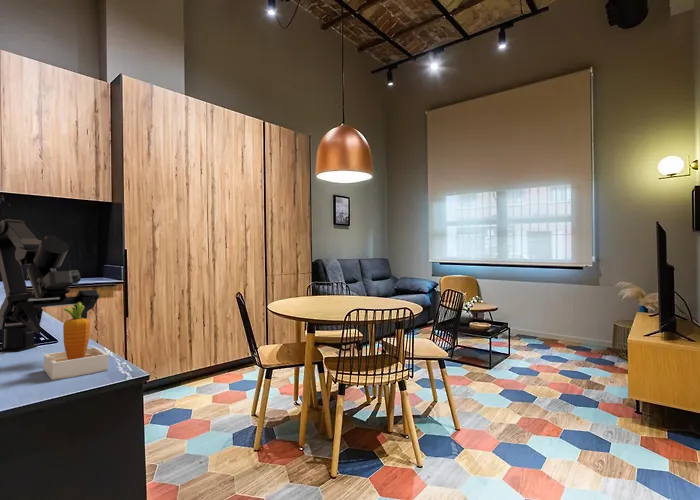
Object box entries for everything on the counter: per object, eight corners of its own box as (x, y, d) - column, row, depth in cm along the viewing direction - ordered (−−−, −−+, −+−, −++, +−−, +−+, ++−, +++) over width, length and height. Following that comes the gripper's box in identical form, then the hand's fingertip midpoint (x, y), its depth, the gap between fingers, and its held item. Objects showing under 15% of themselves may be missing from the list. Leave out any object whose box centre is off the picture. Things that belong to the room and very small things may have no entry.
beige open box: (43, 370, 86) (44, 354, 86) (96, 361, 93) (96, 347, 94) (52, 380, 79) (52, 363, 79) (108, 370, 87) (108, 354, 87)
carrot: (75, 372, 83) (76, 304, 84) (56, 370, 84) (58, 303, 85) (94, 365, 88) (95, 302, 89) (76, 364, 89) (77, 301, 90)
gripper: (6, 259, 86) (24, 312, 79) (97, 259, 101) (117, 303, 95) (-7, 291, 90) (9, 344, 84) (82, 287, 105) (100, 331, 99)
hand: (63, 329), depth 90 cm, fingers open, 9 cm apart
